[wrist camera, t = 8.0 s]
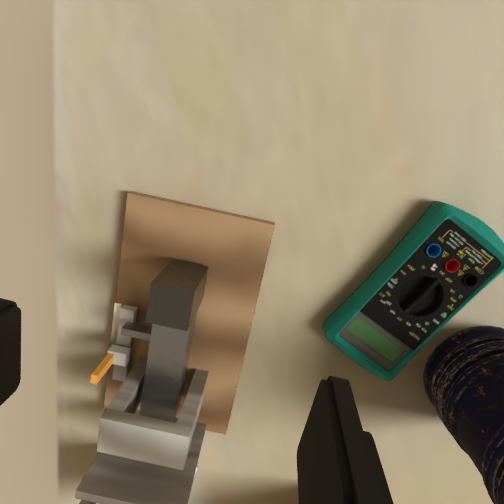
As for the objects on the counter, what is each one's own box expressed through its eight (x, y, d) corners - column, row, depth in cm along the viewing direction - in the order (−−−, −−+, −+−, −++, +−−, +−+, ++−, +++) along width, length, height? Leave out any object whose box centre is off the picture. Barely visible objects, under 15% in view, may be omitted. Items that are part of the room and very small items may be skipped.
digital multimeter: (503, 247, 29) (528, 257, 27) (379, 369, 33) (389, 389, 30) (438, 192, 29) (456, 197, 26) (318, 324, 32) (322, 340, 29)
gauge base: (132, 191, 29) (65, 210, 20) (274, 222, 29) (275, 256, 20) (108, 401, 35) (47, 492, 26) (226, 426, 35) (210, 527, 26)
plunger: (139, 251, 29) (110, 273, 24) (208, 266, 29) (194, 292, 24) (122, 382, 33) (94, 426, 27) (184, 395, 33) (167, 442, 27)
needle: (112, 344, 31) (90, 371, 27) (130, 348, 31) (110, 376, 27) (111, 356, 31) (88, 384, 28) (129, 360, 31) (109, 389, 28)
